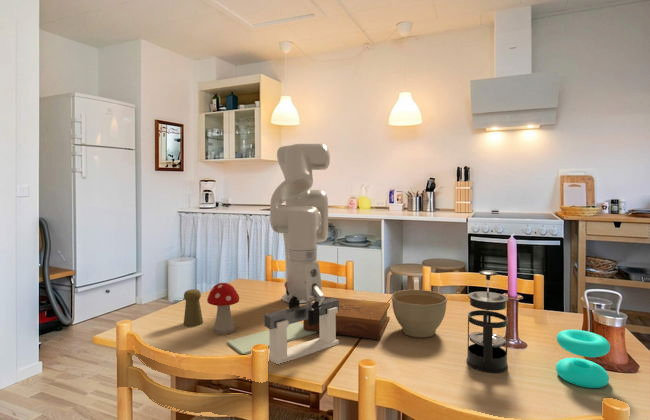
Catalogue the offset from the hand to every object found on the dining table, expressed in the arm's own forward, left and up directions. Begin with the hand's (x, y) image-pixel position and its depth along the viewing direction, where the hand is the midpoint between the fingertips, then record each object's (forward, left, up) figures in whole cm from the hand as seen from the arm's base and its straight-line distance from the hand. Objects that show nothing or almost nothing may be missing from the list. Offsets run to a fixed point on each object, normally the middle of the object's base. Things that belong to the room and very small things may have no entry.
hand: (303, 319), depth 104 cm
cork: (+16, -40, -9) cm, 44 cm away
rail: (0, 0, 0) cm, 0 cm away
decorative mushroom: (+11, -27, -9) cm, 30 cm away
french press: (-30, +35, -9) cm, 47 cm away
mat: (+2, -13, -9) cm, 16 cm away
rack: (0, 0, -9) cm, 9 cm away
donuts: (-40, +52, -9) cm, 66 cm away
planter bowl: (-34, +11, -9) cm, 37 cm away
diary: (-21, -6, -9) cm, 23 cm away
